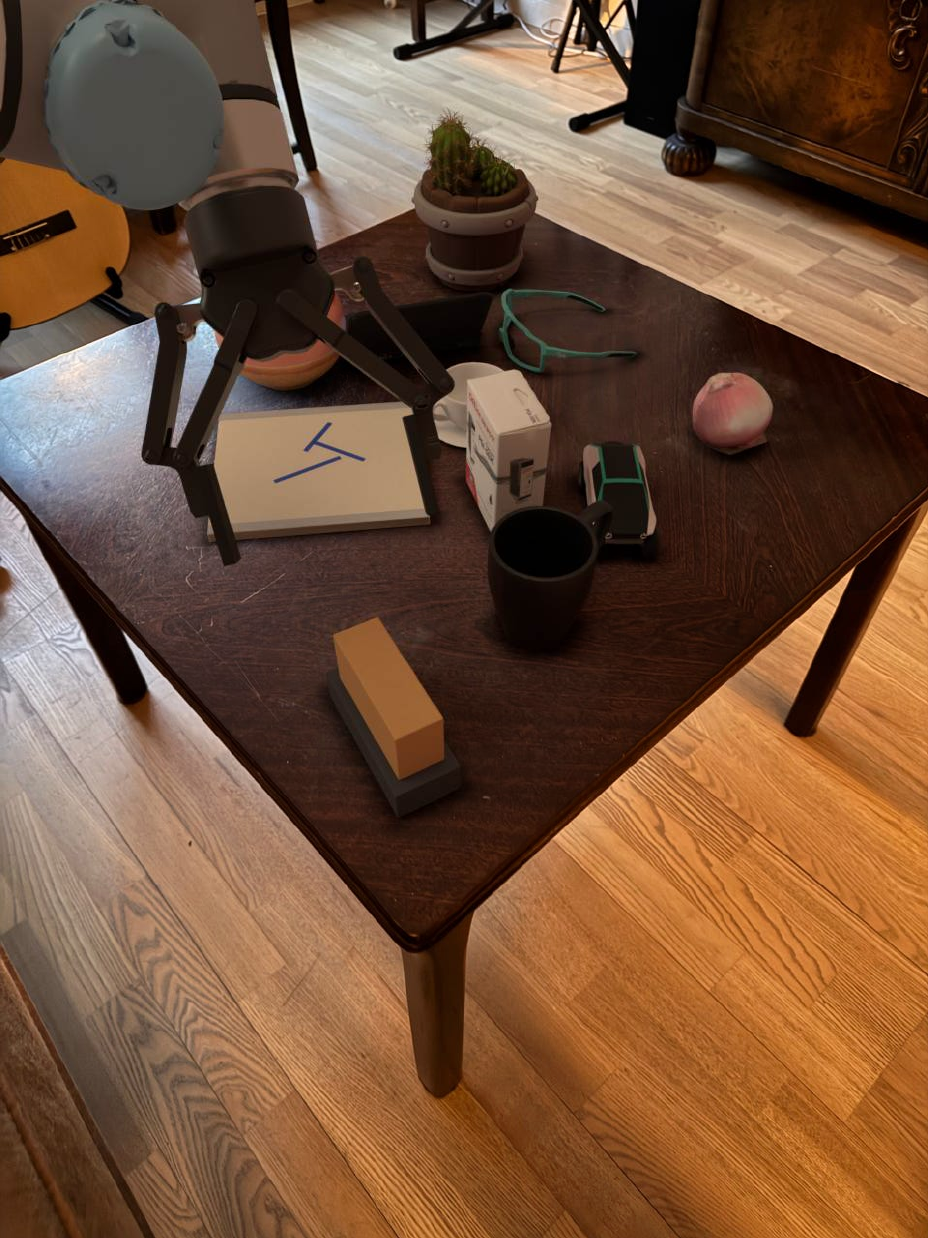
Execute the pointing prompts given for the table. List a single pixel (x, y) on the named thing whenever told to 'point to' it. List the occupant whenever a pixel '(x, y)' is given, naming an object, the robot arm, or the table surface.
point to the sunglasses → (545, 349)
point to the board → (317, 470)
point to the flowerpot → (472, 210)
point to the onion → (732, 413)
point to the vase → (295, 361)
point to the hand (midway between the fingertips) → (333, 538)
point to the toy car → (621, 492)
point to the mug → (544, 569)
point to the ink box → (505, 444)
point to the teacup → (458, 403)
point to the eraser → (391, 718)
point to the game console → (426, 325)
